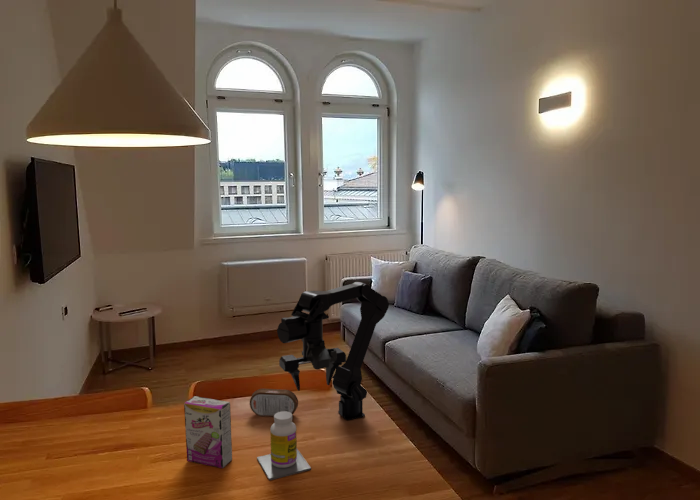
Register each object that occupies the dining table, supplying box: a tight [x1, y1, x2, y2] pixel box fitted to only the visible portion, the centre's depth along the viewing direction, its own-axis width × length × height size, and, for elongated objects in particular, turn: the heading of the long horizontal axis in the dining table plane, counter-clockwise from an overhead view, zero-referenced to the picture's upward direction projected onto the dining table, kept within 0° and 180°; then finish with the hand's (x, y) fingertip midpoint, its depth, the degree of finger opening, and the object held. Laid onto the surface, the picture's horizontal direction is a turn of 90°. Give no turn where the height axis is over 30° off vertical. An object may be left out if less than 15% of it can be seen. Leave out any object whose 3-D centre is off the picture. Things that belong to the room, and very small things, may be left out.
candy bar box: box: [183, 395, 233, 469], centre depth 138 cm, size 11×5×16 cm, turn 71°
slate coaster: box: [256, 448, 312, 481], centre depth 137 cm, size 11×11×1 cm
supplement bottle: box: [269, 411, 298, 468], centre depth 136 cm, size 7×7×13 cm
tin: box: [249, 388, 299, 418], centre depth 164 cm, size 15×3×8 cm, turn 84°
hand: (313, 387), depth 153 cm, fingers open, 9 cm apart
